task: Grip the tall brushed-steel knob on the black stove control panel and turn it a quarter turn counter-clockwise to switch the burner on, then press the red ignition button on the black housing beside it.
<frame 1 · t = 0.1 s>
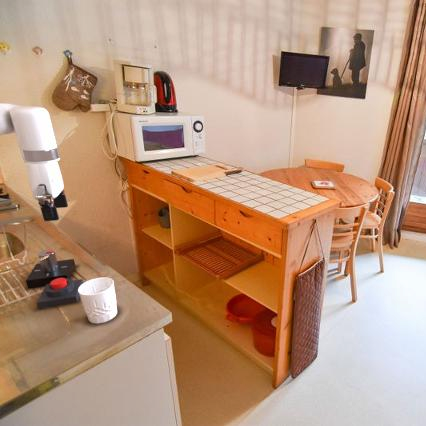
hand: (56, 213, 91), 24 cm above the countertop, tool pointing down, fingers open, 9 cm apart
ignition button: (58, 283, 92), point 4 cm above the countertop, slide at 0.1 cm
stove knob: (48, 260, 100), point 6 cm above the countertop, hinge at 0.0°
white cup: (103, 315, 88), on the countertop
stove panel: (53, 276, 102), on the countertop
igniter: (62, 296, 94), on the countertop
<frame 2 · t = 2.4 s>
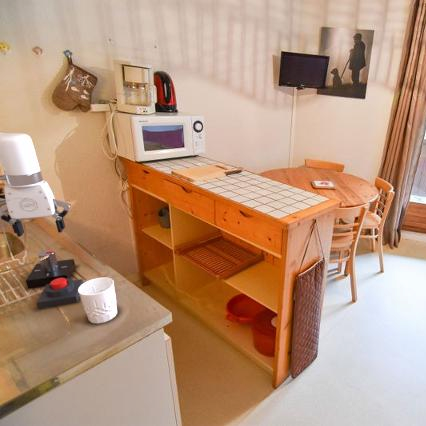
hand: (41, 232, 96), 16 cm above the countertop, tool pointing down, fingers open, 9 cm apart
nothing on the countertop moved.
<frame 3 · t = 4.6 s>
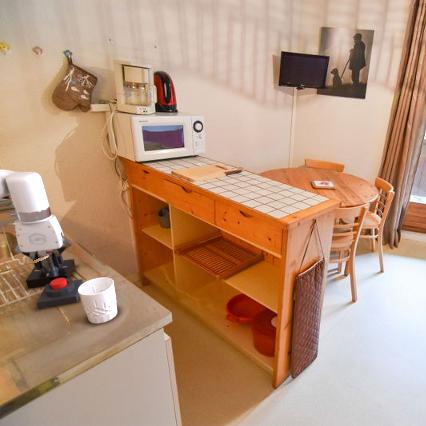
hand: (50, 266, 100), 4 cm above the countertop, tool pointing down, fingers closed on stove knob, 4 cm apart
stove knob: (48, 260, 100), point 6 cm above the countertop, hinge at 0.1°, touching gripper
everything else where it was.
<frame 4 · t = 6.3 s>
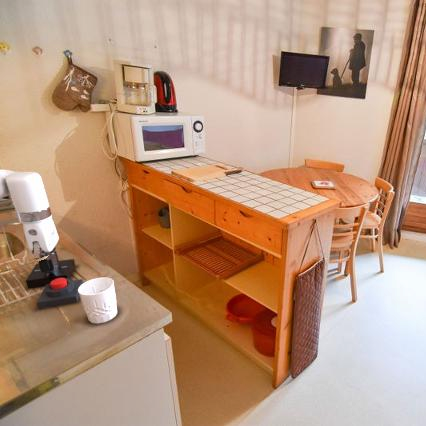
hand: (50, 266, 100), 4 cm above the countertop, tool pointing down, fingers closed on stove knob, 4 cm apart
stove knob: (48, 260, 100), point 6 cm above the countertop, hinge at 90.5°, touching gripper
everything else where it was.
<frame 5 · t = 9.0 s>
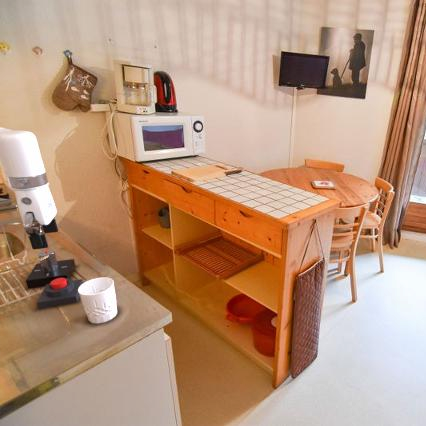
hand: (46, 239, 87), 19 cm above the countertop, tool pointing down, fingers open, 9 cm apart
stove knob: (48, 260, 100), point 6 cm above the countertop, hinge at 89.3°
everything else where it was.
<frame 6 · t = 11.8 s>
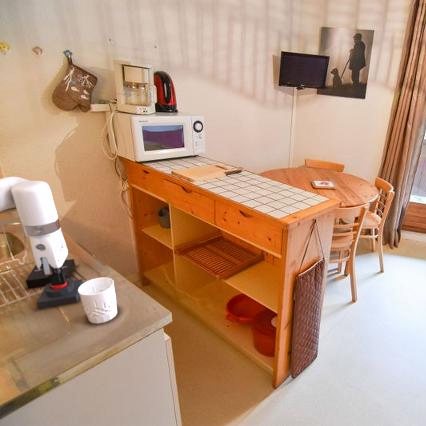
hand: (59, 283, 92), 5 cm above the countertop, tool pointing down, fingers closed
ignition button: (59, 285, 93), point 4 cm above the countertop, slide at -0.6 cm, touching gripper
everything else where it was.
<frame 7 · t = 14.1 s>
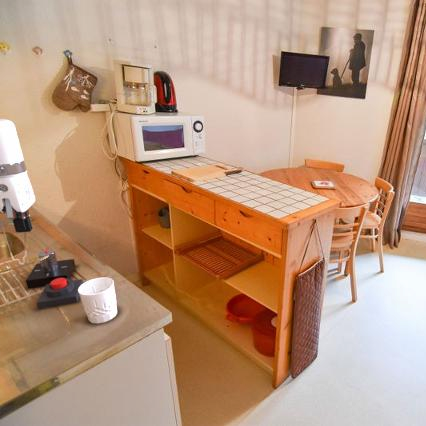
hand: (24, 230, 89), 19 cm above the countertop, tool pointing down, fingers closed
ignition button: (58, 283, 92), point 4 cm above the countertop, slide at 0.1 cm
everything else where it was.
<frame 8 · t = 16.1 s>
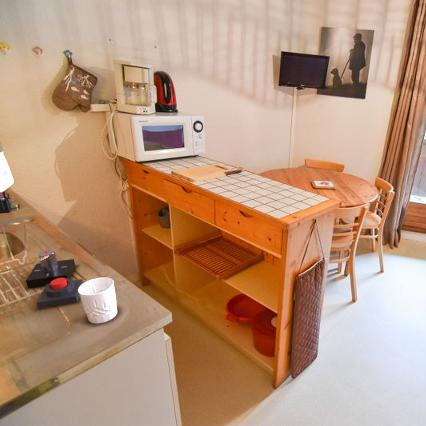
hand: (3, 212, 91), 23 cm above the countertop, tool pointing down, fingers closed
nothing on the countertop moved.
at the end: stove knob at +89° (first picture: +0°); ignition button pushed in 1.1 cm at the most during the clip, back to where it started at the end; ignition button slide at 0.1 cm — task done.
